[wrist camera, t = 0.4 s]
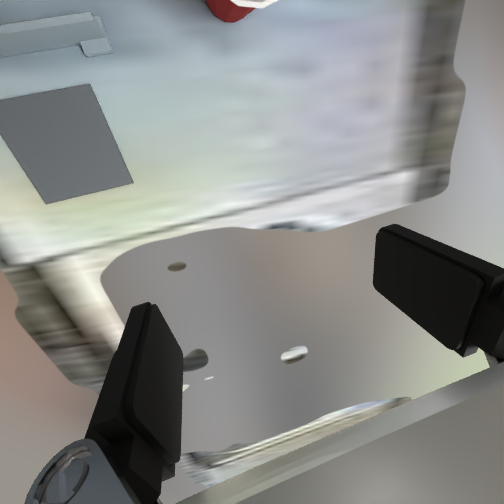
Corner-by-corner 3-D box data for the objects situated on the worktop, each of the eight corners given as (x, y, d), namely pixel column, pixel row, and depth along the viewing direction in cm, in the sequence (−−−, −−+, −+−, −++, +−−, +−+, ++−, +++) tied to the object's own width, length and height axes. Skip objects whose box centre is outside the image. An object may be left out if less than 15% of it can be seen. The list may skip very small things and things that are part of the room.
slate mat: (-17, 104, 26) (-20, 104, 26) (90, 84, 28) (89, 83, 28) (47, 203, 32) (45, 204, 32) (133, 182, 34) (133, 183, 33)
